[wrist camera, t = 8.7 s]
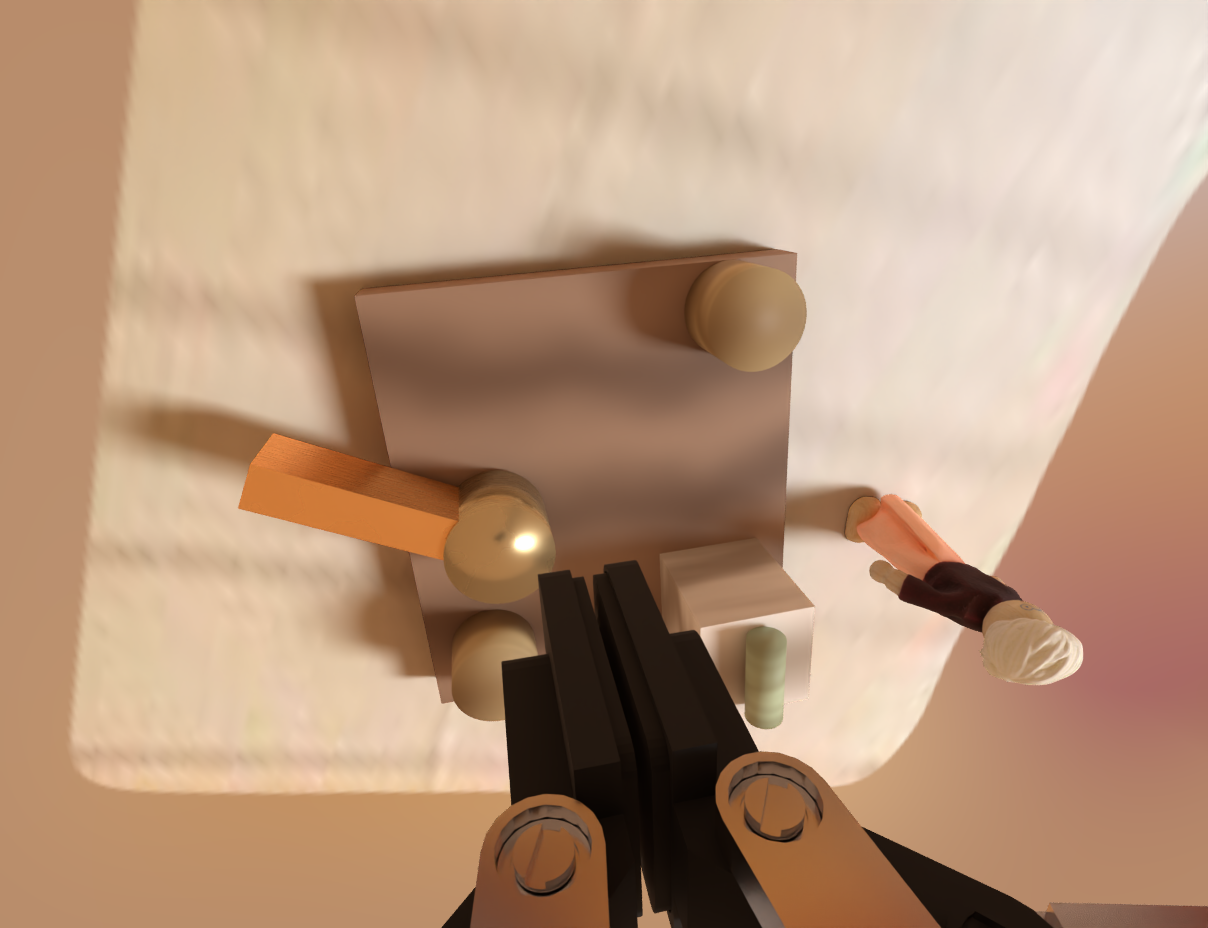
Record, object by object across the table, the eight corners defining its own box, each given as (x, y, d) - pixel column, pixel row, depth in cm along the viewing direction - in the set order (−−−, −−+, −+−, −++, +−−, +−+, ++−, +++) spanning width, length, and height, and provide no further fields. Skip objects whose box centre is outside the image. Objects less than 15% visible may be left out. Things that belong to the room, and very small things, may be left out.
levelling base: (361, 288, 27) (315, 336, 18) (776, 249, 30) (908, 274, 21) (442, 676, 35) (437, 839, 26) (763, 616, 38) (855, 744, 29)
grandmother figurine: (941, 485, 37) (1162, 621, 25) (924, 546, 38) (1126, 701, 27) (815, 489, 35) (990, 635, 24) (802, 552, 36) (961, 719, 25)
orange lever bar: (559, 487, 29) (572, 524, 26) (524, 569, 31) (532, 614, 27) (282, 401, 26) (257, 432, 22) (255, 499, 27) (227, 541, 24)
